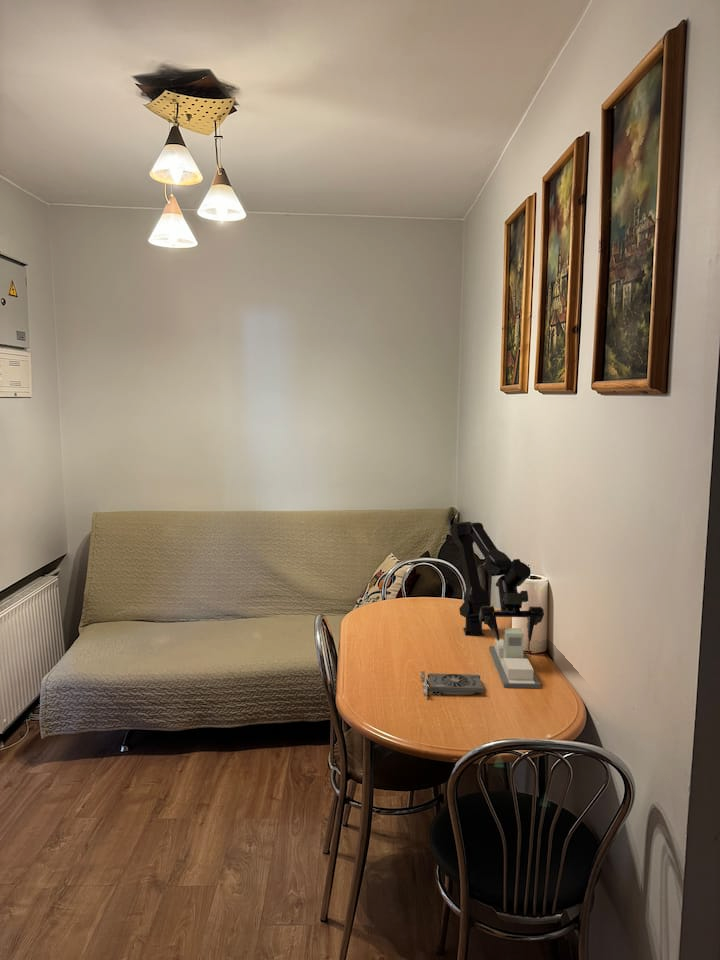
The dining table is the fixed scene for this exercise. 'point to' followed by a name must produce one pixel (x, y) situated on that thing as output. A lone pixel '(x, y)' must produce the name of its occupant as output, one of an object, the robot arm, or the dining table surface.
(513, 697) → the dining table surface
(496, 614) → the robot arm
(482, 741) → the dining table surface
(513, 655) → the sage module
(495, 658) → the board
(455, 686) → the graphics card
